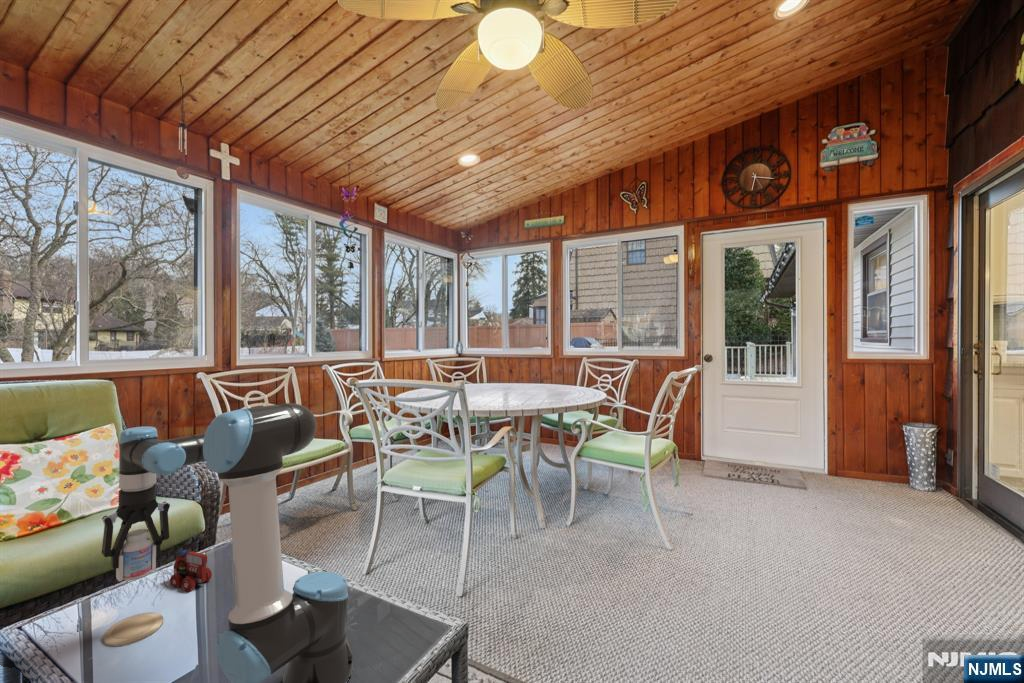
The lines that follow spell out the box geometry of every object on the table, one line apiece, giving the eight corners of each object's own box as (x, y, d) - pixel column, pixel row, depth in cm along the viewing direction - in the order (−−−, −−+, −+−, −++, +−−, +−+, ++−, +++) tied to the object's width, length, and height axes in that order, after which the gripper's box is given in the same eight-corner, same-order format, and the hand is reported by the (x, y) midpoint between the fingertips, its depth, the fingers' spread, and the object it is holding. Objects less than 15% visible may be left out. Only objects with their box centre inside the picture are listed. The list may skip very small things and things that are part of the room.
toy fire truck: (187, 574, 143) (187, 542, 143) (215, 582, 139) (216, 549, 139) (164, 585, 137) (165, 552, 136) (193, 594, 133) (194, 560, 133)
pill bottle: (133, 583, 113) (134, 539, 113) (114, 579, 114) (115, 536, 114) (157, 570, 119) (157, 529, 119) (138, 567, 120) (139, 526, 120)
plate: (169, 627, 118) (170, 624, 118) (110, 653, 108) (110, 649, 108) (154, 609, 125) (154, 606, 125) (97, 632, 115) (97, 628, 115)
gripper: (176, 474, 126) (174, 554, 126) (84, 493, 110) (83, 584, 111) (186, 480, 121) (184, 563, 122) (92, 500, 106) (90, 595, 107)
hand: (136, 573), depth 117 cm, fingers closed on pill bottle, 6 cm apart
